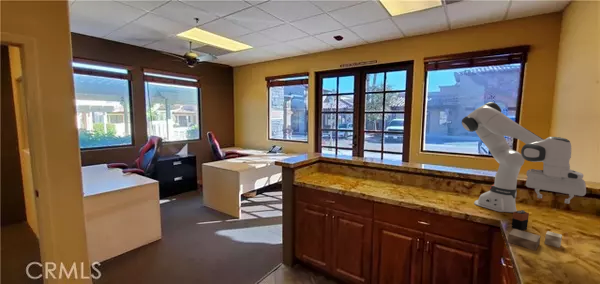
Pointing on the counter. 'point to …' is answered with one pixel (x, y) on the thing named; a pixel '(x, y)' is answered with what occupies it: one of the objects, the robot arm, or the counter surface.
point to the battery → (520, 220)
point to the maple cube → (553, 239)
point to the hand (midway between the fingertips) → (552, 200)
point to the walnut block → (524, 239)
